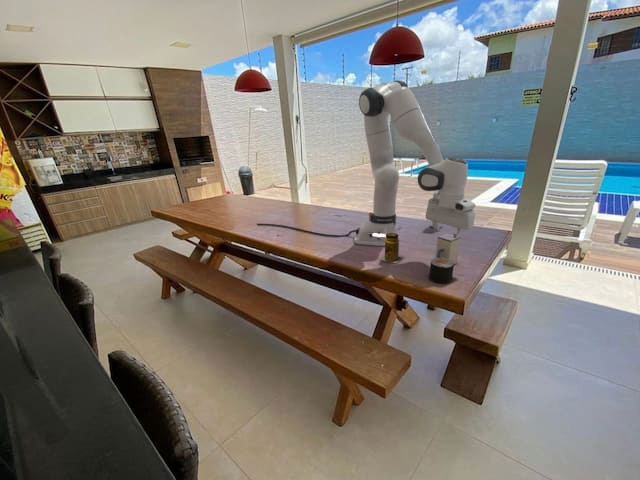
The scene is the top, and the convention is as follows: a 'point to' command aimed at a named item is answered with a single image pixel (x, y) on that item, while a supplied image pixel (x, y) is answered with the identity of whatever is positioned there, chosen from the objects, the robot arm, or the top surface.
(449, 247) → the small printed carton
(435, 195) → the water bottle
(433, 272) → the sushi
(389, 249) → the condiment
